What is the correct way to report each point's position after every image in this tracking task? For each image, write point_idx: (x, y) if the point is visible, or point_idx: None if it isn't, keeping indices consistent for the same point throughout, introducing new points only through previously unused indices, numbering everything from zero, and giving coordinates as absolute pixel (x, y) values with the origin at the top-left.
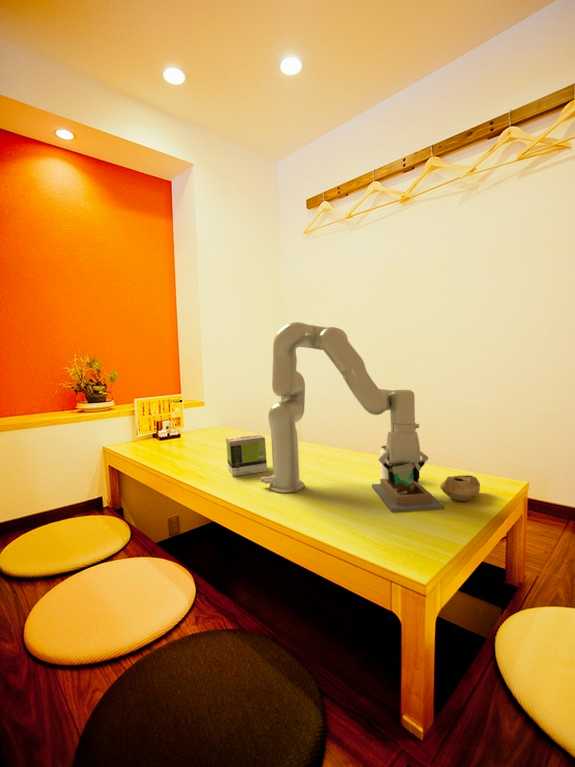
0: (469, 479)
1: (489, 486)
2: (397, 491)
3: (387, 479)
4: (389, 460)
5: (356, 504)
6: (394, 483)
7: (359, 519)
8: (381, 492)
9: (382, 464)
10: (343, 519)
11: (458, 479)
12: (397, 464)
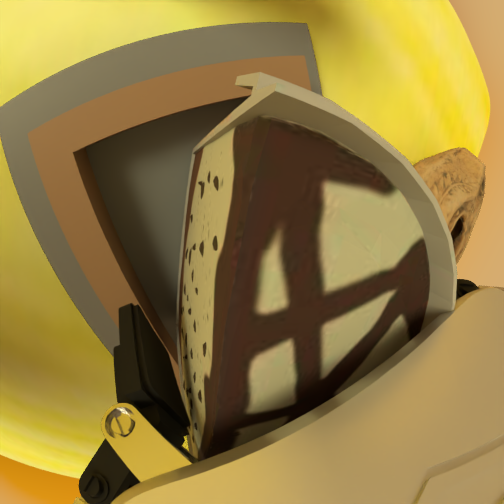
0: (470, 234)
1: (465, 111)
2: (179, 349)
3: (86, 122)
4: (141, 489)
5: (20, 370)
6: (165, 350)
7: (86, 438)
8: (67, 259)
9: (89, 496)
10: (53, 440)
11: (458, 171)
12: (247, 436)
